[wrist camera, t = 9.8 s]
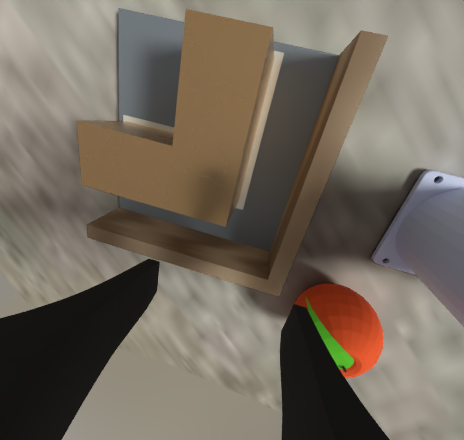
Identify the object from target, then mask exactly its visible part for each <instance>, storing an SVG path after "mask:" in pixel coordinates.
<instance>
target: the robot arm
mask: <svg viewBox="0 0 464 440" xmlns="http://www.w3.org/2000/svg"><path fill="white" fill-rule="evenodd" d="M437 176H439V180H438V181H436V182H434V179H435V178H436V177H437ZM385 258H387V260H385V261H383V259H385ZM372 260H373V261H374V262H375V263H376V264H380V265H383V266H387V267H390V268H394V269H397V270H401V271H404V272H408V273H411V274H415V275H417V277H418V278H419V279H420V280H421V281H422V282H423V283H424V284H425V285H426V286H427V287H428V289H429V290H430V291H431V292H432V293H433V294H434V295H435V296H436V297H437V298H438V299H439V301H440V302H441V303H442V304H443V305H444V306H445V307H446V308H447V309H448V310H449V311H450V313H451V314H452V315H453V316H454V317H455V318H456V319H457V320H458V321H459V322H460V323H461V325H462V326H463V327H464V178H463V177H459V176H455V175H451V174H447V173H443V172H439V171H435V170H426V171H424V172H423V173H422V174H421V175H420V177H419V178H418V180H417V182H416V183H415V185H414V187H413V188H412V190H411V192H410V193H409V195H408V197H407V198H406V200H405V202H404V203H403V205H402V207H401V208H400V210H399V212H398V213H397V215H396V217H395V218H394V220H393V222H392V223H391V225H390V227H389V228H388V230H387V231H386V233H385V235H384V236H383V238H382V240H381V241H380V243H379V245H378V246H377V248H376V250H375V251H374V253H373V255H372ZM159 263H160V262H158V261H155V260H152V259H147V260H145V261H143V262H142V263H140V264H138V265H136V266H134V267H132V268H130V269H129V270H127V271H125V272H123V273H121V274H119V275H117V276H115V277H113V278H111V279H109V280H107V281H105V282H103V283H101V284H99V285H96V286H94V287H92V288H90V289H88V290H85V291H83V292H81V293H78V294H76V295H73V296H70V297H68V298H65V299H62V300H60V301H57V302H54V303H51V304H48V305H45V306H41V307H38V308H35V309H32V310H29V311H26V312H22V313H19V314H15V315H11V316H7V317H4V318H0V440H61V439H62V438H63V436H64V434H65V432H66V431H67V429H68V427H69V425H70V424H71V422H72V420H73V419H74V417H75V415H76V413H77V412H78V410H79V408H80V406H81V405H82V403H83V401H84V400H85V398H86V396H87V395H88V393H89V392H90V390H91V388H92V386H93V385H94V383H95V382H96V380H97V378H98V377H99V375H100V373H101V372H102V370H103V369H104V367H105V365H106V364H107V362H108V361H109V359H110V358H111V356H112V354H113V353H114V352H115V350H116V349H117V347H118V346H119V345H120V343H121V342H122V341H123V339H124V338H125V337H126V335H127V334H128V333H129V332H130V330H131V329H132V328H133V326H134V325H135V324H136V322H137V321H138V320H139V318H140V317H141V316H142V314H143V313H144V312H145V310H146V309H147V307H148V306H149V304H150V302H151V301H152V299H153V297H154V295H155V293H156V292H157V285H158V274H159ZM280 367H281V388H282V414H283V416H282V440H390V439H389V438H388V437H387V436H386V434H385V433H384V432H383V431H382V429H381V428H380V427H379V425H378V424H377V423H376V421H375V420H374V419H373V418H372V416H371V415H370V414H369V412H368V411H367V409H366V408H365V407H364V405H363V404H362V403H361V401H360V400H359V398H358V397H357V395H356V394H355V392H354V391H353V389H352V388H351V387H350V385H349V384H348V382H347V381H346V379H345V377H344V376H343V374H342V373H341V371H340V369H339V368H338V366H337V364H336V363H335V361H334V359H333V358H332V356H331V354H330V352H329V350H328V349H327V347H326V345H325V343H324V341H323V339H322V337H321V336H320V334H319V332H318V330H317V328H316V326H315V324H314V322H313V320H312V318H311V316H310V314H309V312H308V310H307V308H306V307H303V306H300V305H296V304H294V305H293V308H292V310H291V312H290V314H289V316H288V318H287V320H286V322H285V325H284V327H283V329H282V331H281V342H280Z"/></svg>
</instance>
